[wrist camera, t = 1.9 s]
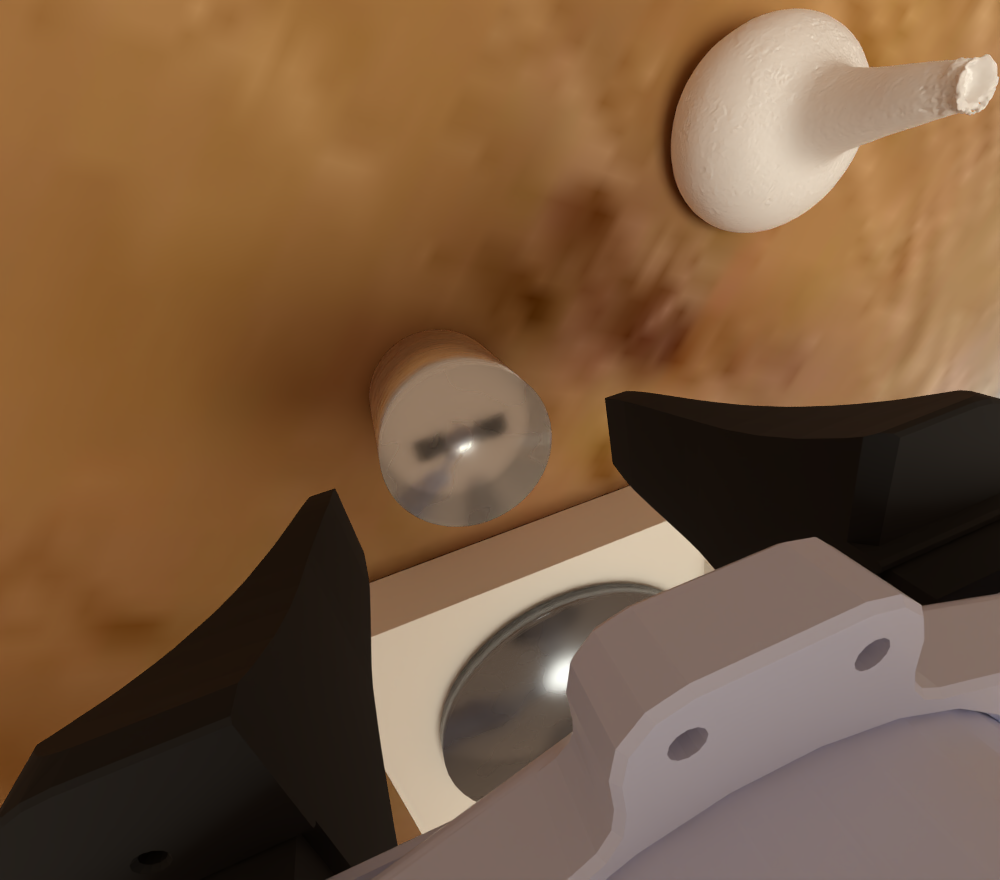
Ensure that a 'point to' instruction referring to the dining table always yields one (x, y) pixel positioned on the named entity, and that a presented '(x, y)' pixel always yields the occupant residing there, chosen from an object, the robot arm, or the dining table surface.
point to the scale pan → (522, 687)
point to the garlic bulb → (799, 115)
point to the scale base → (495, 620)
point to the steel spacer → (456, 429)
